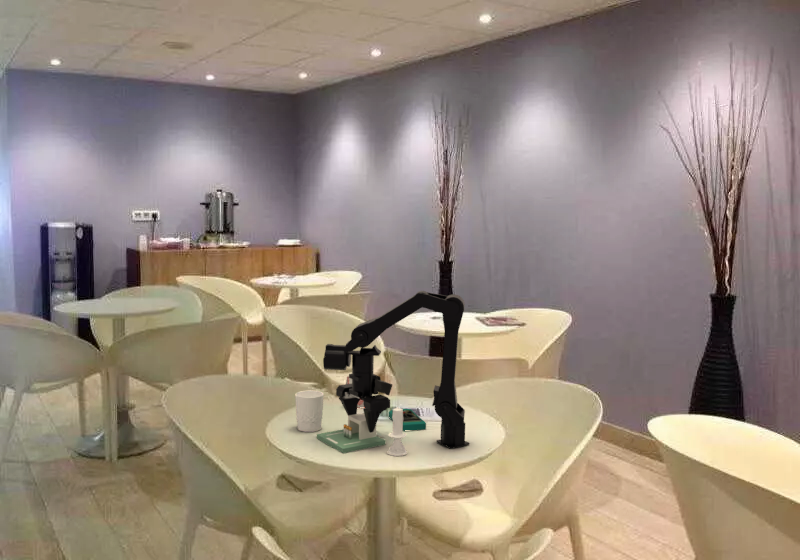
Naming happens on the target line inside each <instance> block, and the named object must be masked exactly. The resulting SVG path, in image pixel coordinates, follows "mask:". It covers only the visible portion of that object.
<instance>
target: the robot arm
mask: <svg viewBox="0 0 800 560" xmlns="http://www.w3.org/2000/svg"><path fill="white" fill-rule="evenodd" d="M465 304H466V303H465V300H464V299H463V298H462V297H461V296H460V295H458V294H452V293H451V294H449V295H444V294H441V293H440V294H438V293H433V292H428V291H425V290H420V291H417V292H416V293H415V295H412V296H411V297H409V298H408V299H406V300H404V301H403V302H401V303H399V304H398V305H397V306H395V307H393V308H391V309H390V310H388V311H387V312H385V313H384V314H382V315H380V316H378V317H375V318H372V319H369V320H366V321H364V322H360V323H359V324H358V325H357V326H356V327H354V328H353V330H352V331H351V334H350V340H349V341H347V343H345V344H334V343H333V344H332V343H327V344H326V345H325V350H324V356H323V359H322V364H323V370H328V371H329V370H330V371H331V370H332V371H346V370H347V368H349V367H350V366H351V373H349V374H348V376H349V378H351V379H352V384H346V383H345V384H339V385H338V386H337V387H336V388H335V391H336V393H335V396H337V397H338V400H339V401H340V403H341V405H342V407H343V409H344V411H345V412H346V416H348V415H354V414H358V409H357V404H358V402H359V401H360V399H361V400H363V401H364V403H363V405H364V407H365V408H362V410H363V413H364V415H365V418H366V422H367V426H368V430H369V432H370V433H371V432H374V429H375V426H376V427H377V423H378V420H379V418H380V415H381V414H382V413H383V412H384V411H387V410H388V409H390V408H391V399H390V398H389V396H390V394H391V391H392V388H393V384H392V383H390V382H388V381H384V380H381V379H382V378H381V376H379V375H377V374H376V373H374V366H375V365H374V358H375V357H376V356H377V357H380V355H381V353H382V351H381V349H379V348H378V347H377V345H376V344H374V345H373V346H372V347H369V346H370V345H371V344H372V343H373V342H374V341H375V340H376V339H378V338H379V337H380V336H381V335H382V334H383V333H384V332H385V331H386V330H388V329H389V328H390V327H392V326H394V325H395V324H397V323H399V322H400V321H402V320H404V319H405V318H407V317H409V316H410V315H412V314H413V313H415V312H416V311H418V310H420V309H422V308H423V309H427V310H430V311H433V312H437V313H441V314H442V322H443V330H444V334H443V335H444V336H443V347H442V348H443V350H442V362H441V376H440V377H441V379H440V384H439V385H435V384H434V388H433V399H432V400H433V401H432V405H431V406H432V407H434V411H435V413H436V414H437V416H438V417H440V418H441V424H440V439H437V440H436V441H435V442H436V443H437V444H439V445H442V446H444V447H446V448H448V449H451V450H453V449H457V448H460V447H464V446H465V447H466V446H469V445H470V442H468V441H467V440H466V422H465V413H466V411H465V409H464V408H463V406H462V405H460V403H459V402H458V396H457V394H458V393H457V388H456V369H457V356H458V341H459V331H460V330H459V329H460V326H461V323H462V318H463V315H464V311H465V307H466V305H465ZM358 348H360V349H359V350H356V349H358ZM374 356H375V357H374ZM379 393H382V394H385V395H386V396H385V395H382V394H379Z"/></svg>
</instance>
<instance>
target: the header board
mask: <svg viewBox="0 0 800 560" xmlns="http://www.w3.org/2000/svg"><path fill="white" fill-rule="evenodd" d="M316 439H317V440H318V441H321V442H322V443H324V444H325V445H327V446H329V447H331V448H333V449H334V450H336V451H338V452H340V453H341V454H346V453H351V452H356V451H362V450H366V449H371V448H375V447H381V446H386V443H387V442H386V441H387V440H386V439H384V438H382V437H380V436H378V435H376V437H372V438H367V439H362V440H360V439H359V432H358V433H353V434H352V439H351V440H349V438H346V437H344V428H343V429H338V430H333V431H327V432H323V433H322V432H321V433H317V434H316Z"/></svg>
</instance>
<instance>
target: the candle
mask: <svg viewBox="0 0 800 560" xmlns="http://www.w3.org/2000/svg"><path fill="white" fill-rule="evenodd" d="M403 409H404V408H400V407H395V408H393V409H392V410H393V415H392V419H393V421H392V431H391V432H389V433H388V437H390V438H392V439H393V441H392V444H391V445H390V446H389V449H388V450H387V451H386V453H387V455H388V456H393V457H402V456H406V455H407V454H408V452H409V451H407V450H406V447H405V445H404V444H403V441H402V439H403V438H405V437H407V436H408V434H407V433H406V432H404V431H403Z"/></svg>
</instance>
